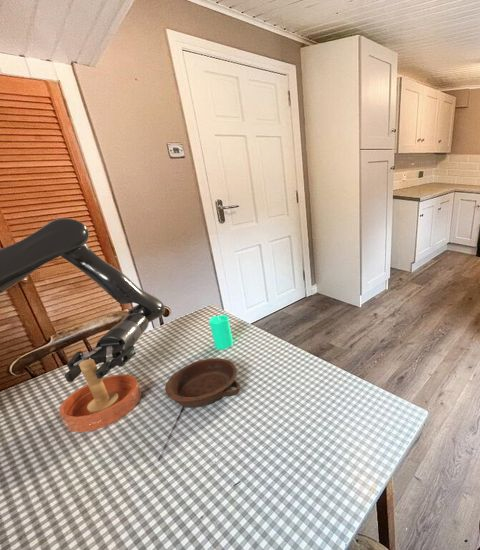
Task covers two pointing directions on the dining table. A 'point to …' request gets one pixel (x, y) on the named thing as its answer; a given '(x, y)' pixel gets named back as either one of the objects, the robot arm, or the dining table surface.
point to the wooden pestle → (97, 388)
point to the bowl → (82, 421)
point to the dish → (203, 382)
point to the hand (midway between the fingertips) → (83, 377)
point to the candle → (221, 331)
